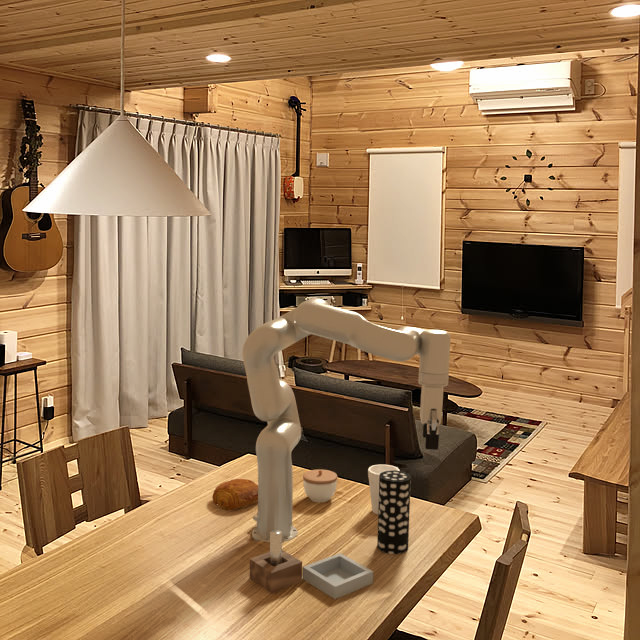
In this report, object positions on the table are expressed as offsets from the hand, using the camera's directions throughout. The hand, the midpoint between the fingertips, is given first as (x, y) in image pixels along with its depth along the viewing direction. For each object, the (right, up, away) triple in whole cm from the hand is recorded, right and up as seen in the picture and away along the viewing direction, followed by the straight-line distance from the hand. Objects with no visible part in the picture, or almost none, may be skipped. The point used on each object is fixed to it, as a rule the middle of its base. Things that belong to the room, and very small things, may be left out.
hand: (430, 443), depth 185 cm
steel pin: (-39, -31, -13) cm, 51 cm away
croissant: (-54, -25, +37) cm, 71 cm away
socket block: (-39, -32, -13) cm, 52 cm away
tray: (-24, -32, -13) cm, 42 cm away
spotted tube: (-9, -30, +8) cm, 32 cm away
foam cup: (-10, -26, +32) cm, 42 cm away
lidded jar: (-29, -25, +41) cm, 56 cm away
